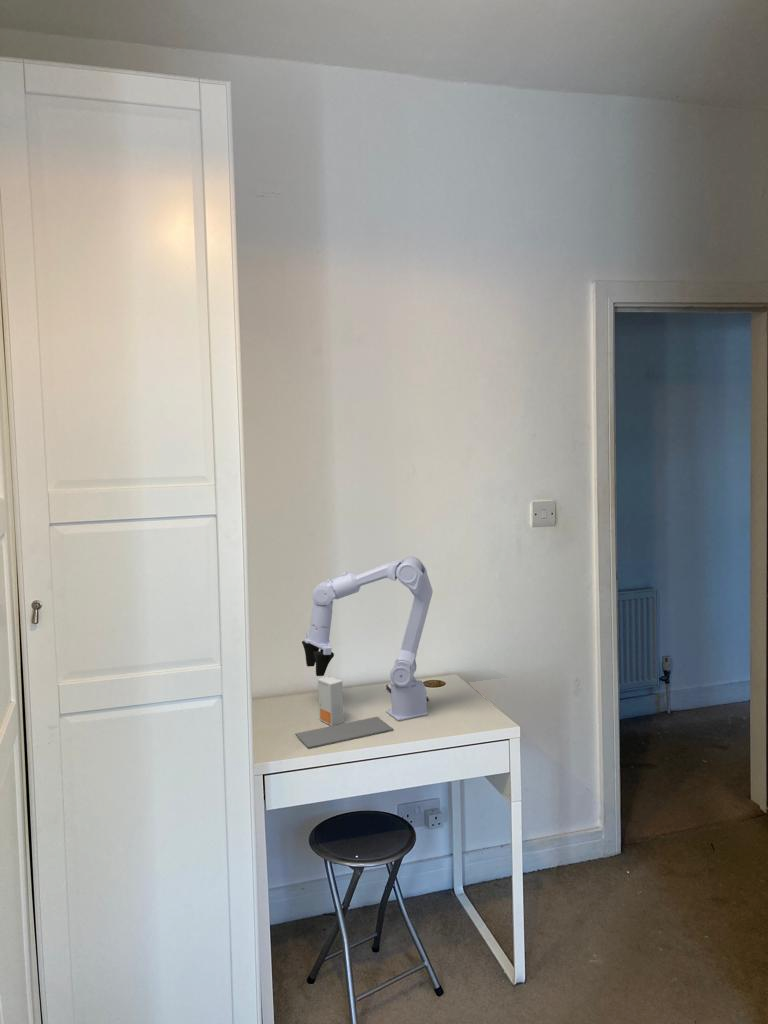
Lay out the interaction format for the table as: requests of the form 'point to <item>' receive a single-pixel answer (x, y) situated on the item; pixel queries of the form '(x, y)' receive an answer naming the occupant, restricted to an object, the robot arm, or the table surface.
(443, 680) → the table surface
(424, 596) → the robot arm
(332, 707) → the skincare box
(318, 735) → the mat
